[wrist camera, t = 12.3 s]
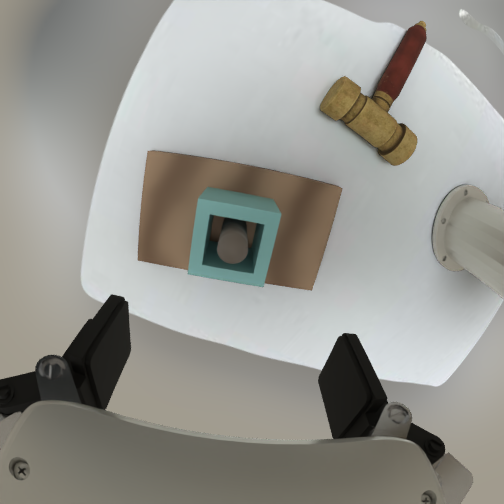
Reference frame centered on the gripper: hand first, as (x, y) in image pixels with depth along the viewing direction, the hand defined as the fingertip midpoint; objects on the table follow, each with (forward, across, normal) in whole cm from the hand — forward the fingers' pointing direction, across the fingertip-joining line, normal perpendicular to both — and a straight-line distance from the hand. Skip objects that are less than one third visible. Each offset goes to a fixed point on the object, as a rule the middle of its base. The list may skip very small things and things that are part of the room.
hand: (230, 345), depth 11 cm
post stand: (+20, 0, 0) cm, 20 cm away
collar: (+18, 0, 0) cm, 18 cm away
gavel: (+20, -13, -21) cm, 32 cm away
